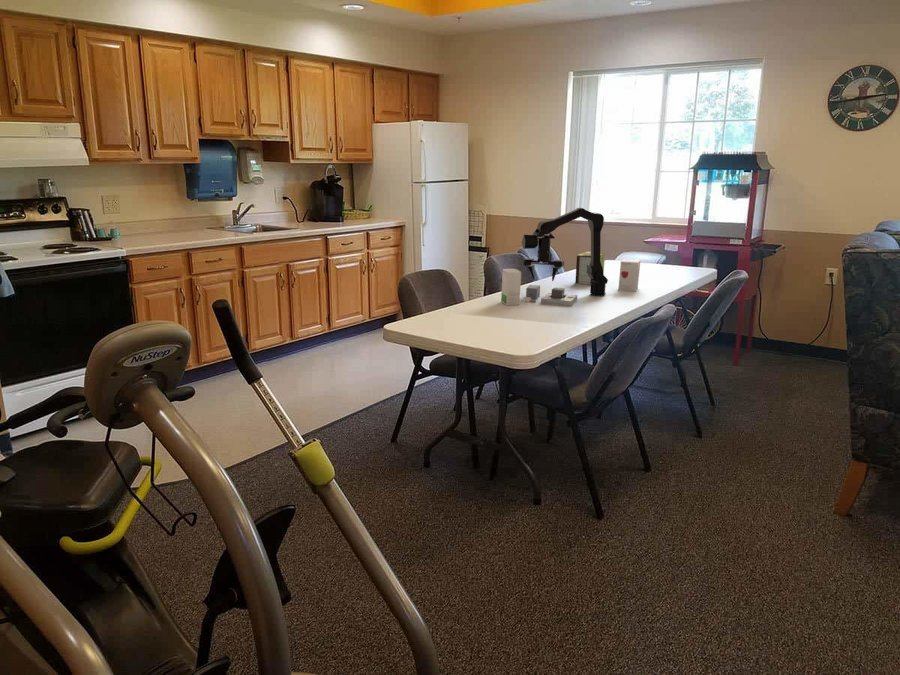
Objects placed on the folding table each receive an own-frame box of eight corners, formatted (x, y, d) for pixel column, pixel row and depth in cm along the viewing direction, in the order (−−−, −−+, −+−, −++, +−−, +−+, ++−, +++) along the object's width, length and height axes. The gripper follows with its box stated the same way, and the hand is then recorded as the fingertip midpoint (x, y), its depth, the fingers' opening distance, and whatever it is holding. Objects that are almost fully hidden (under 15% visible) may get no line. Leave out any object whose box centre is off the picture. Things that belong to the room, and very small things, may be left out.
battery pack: (539, 296, 314) (540, 285, 312) (536, 300, 305) (536, 288, 304) (529, 295, 315) (530, 284, 314) (525, 299, 307) (526, 288, 305)
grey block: (563, 301, 304) (564, 287, 302) (561, 303, 300) (562, 289, 298) (553, 300, 306) (554, 286, 304) (551, 302, 301) (551, 288, 300)
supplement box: (617, 290, 329) (620, 261, 325) (620, 287, 337) (622, 258, 333) (636, 291, 326) (638, 262, 322) (638, 288, 334) (640, 259, 330)
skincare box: (500, 302, 301) (501, 268, 297) (514, 301, 302) (515, 268, 298) (506, 305, 293) (507, 271, 289) (520, 305, 295) (521, 271, 290)
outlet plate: (577, 300, 305) (577, 294, 304) (571, 306, 293) (571, 300, 292) (548, 297, 310) (548, 292, 309) (540, 303, 298) (541, 298, 297)
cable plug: (537, 301, 303) (537, 297, 302) (535, 302, 300) (535, 299, 299) (526, 300, 304) (526, 297, 304) (524, 301, 302) (524, 298, 301)
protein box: (603, 281, 354) (605, 252, 349) (593, 285, 341) (595, 256, 337) (585, 279, 359) (586, 251, 355) (574, 283, 347) (576, 254, 342)
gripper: (567, 246, 311) (565, 278, 316) (529, 245, 318) (528, 276, 322) (562, 249, 301) (561, 282, 306) (523, 248, 308) (522, 280, 312)
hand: (543, 280), depth 312 cm, fingers open, 9 cm apart
